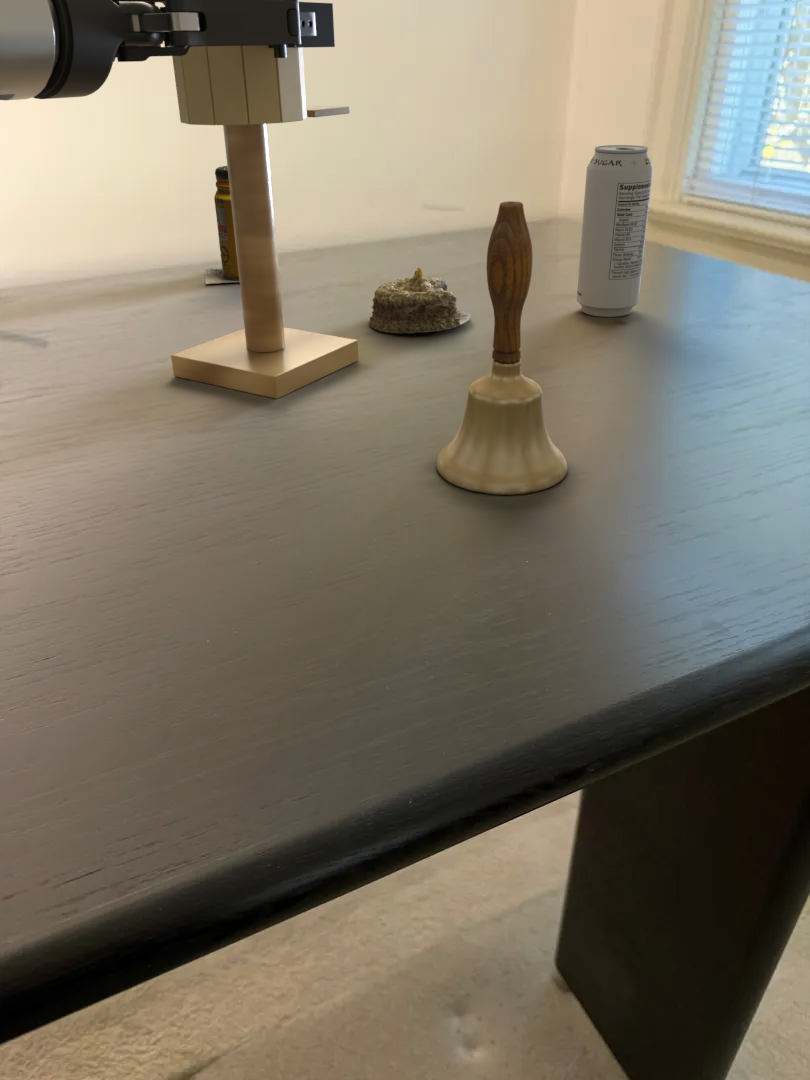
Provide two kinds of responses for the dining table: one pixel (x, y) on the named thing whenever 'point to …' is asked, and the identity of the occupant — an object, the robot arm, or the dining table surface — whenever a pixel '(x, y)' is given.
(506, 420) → the hand bell
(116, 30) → the robot arm
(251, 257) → the hat stand
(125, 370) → the dining table surface
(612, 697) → the dining table surface
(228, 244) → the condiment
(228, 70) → the slatted wooden barrel
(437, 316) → the cake
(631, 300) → the energy drink can
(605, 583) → the dining table surface
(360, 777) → the dining table surface
